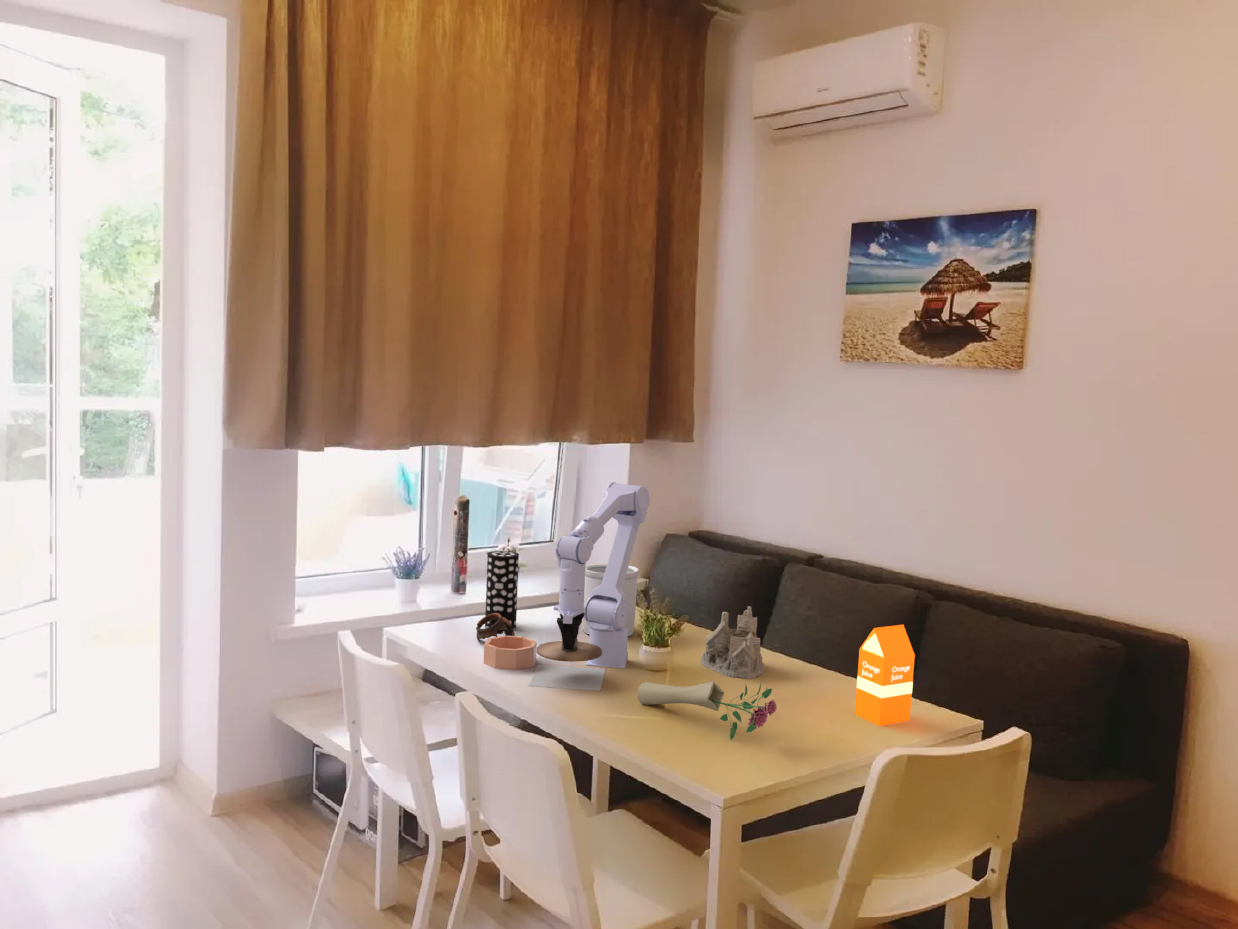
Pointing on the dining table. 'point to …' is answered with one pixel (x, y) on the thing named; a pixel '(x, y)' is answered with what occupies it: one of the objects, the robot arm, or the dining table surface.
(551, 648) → the walnut lid
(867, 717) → the orange juice
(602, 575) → the utensil holder
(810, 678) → the dining table surface
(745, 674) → the ceramic cottage
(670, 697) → the flower vase
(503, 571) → the white-spotted black cylinder
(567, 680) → the grey mat
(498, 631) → the brown openwork ring
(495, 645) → the terracotta bowl
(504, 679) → the dining table surface
